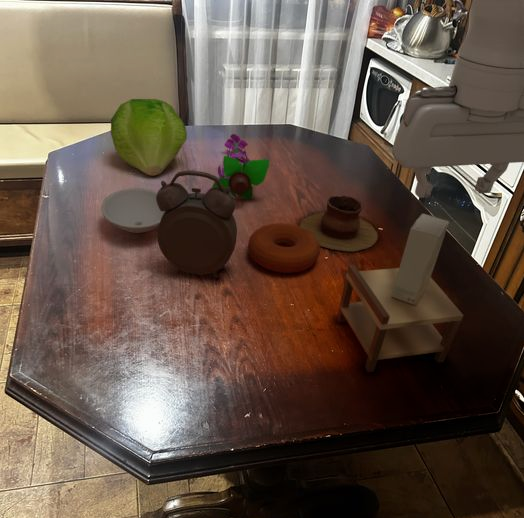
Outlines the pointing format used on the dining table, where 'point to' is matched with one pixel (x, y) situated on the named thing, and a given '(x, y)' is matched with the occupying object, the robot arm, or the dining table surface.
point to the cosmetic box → (419, 258)
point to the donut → (283, 248)
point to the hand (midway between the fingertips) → (452, 193)
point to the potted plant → (232, 172)
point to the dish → (133, 209)
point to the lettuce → (147, 134)
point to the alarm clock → (196, 225)
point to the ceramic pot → (341, 226)
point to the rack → (396, 317)
